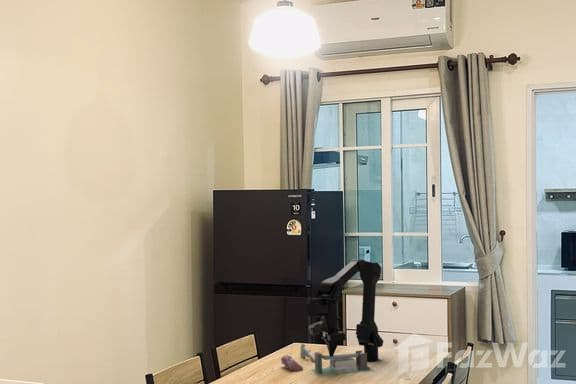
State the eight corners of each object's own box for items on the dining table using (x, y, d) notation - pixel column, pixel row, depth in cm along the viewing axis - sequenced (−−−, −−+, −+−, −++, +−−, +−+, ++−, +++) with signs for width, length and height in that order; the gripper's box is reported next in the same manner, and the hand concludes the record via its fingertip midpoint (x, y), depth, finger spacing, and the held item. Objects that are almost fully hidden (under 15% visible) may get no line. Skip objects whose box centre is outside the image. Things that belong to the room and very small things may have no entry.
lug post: (315, 371, 254) (314, 352, 255) (321, 370, 255) (320, 351, 255) (318, 373, 250) (317, 354, 251) (324, 372, 251) (323, 354, 251)
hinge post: (353, 366, 260) (353, 350, 260) (363, 365, 261) (362, 350, 261) (359, 370, 253) (359, 354, 253) (369, 369, 254) (369, 353, 254)
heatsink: (329, 368, 258) (329, 357, 258) (349, 366, 260) (349, 356, 260) (336, 373, 250) (335, 362, 250) (356, 371, 252) (356, 360, 252)
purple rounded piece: (284, 372, 264) (276, 356, 263) (294, 365, 265) (286, 350, 264) (295, 377, 255) (286, 361, 254) (304, 370, 256) (296, 355, 255)
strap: (322, 359, 255) (322, 354, 255) (361, 356, 259) (361, 351, 259) (324, 360, 252) (324, 356, 252) (364, 357, 255) (364, 353, 256)
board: (310, 371, 257) (310, 369, 257) (364, 366, 262) (364, 364, 262) (317, 377, 247) (317, 375, 247) (373, 371, 253) (373, 370, 253)
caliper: (300, 358, 282) (299, 343, 282) (302, 357, 282) (302, 342, 282) (320, 368, 263) (319, 351, 263) (323, 367, 263) (322, 351, 263)
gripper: (303, 312, 262) (304, 352, 261) (316, 319, 244) (317, 362, 243) (331, 310, 264) (331, 351, 264) (346, 317, 246) (347, 360, 246)
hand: (331, 356), depth 254 cm, fingers closed, pressing on strap
